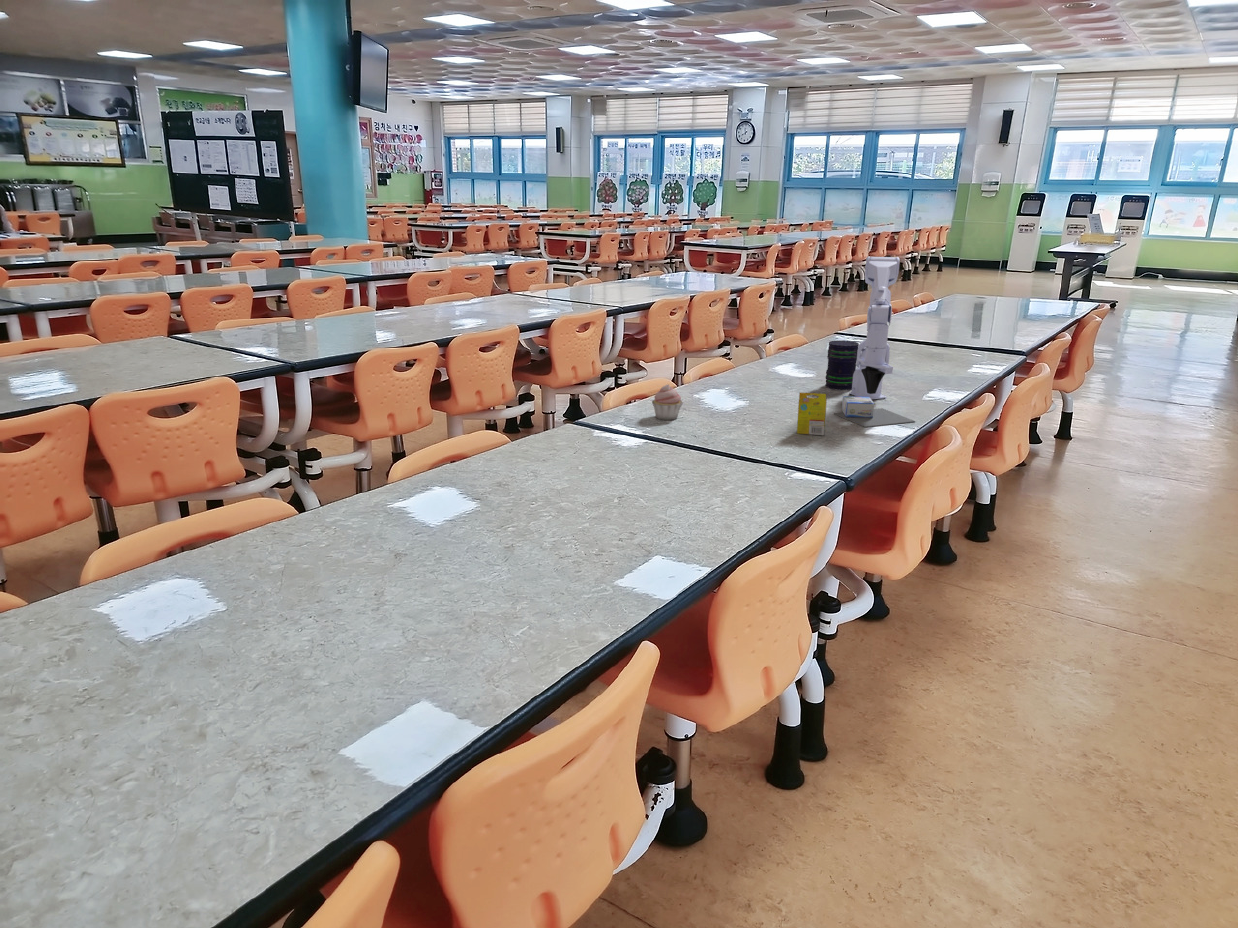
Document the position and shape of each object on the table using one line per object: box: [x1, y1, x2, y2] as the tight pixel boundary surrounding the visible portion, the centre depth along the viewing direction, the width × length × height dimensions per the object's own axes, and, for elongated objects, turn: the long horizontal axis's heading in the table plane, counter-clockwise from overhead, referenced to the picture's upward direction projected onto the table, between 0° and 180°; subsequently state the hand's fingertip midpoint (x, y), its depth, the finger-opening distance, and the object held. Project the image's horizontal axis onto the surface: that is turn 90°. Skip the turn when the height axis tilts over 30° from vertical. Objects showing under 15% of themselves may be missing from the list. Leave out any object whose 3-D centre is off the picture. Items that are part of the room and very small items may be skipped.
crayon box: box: [796, 392, 827, 436], centre depth 226 cm, size 7×3×12 cm, turn 74°
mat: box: [833, 407, 916, 428], centre depth 243 cm, size 16×17×1 cm
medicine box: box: [841, 395, 875, 418], centre depth 245 cm, size 8×4×9 cm
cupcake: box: [651, 383, 684, 421], centre depth 242 cm, size 9×9×10 cm
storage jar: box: [824, 339, 860, 391], centre depth 278 cm, size 10×10×15 cm
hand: (871, 393), depth 243 cm, fingers closed
